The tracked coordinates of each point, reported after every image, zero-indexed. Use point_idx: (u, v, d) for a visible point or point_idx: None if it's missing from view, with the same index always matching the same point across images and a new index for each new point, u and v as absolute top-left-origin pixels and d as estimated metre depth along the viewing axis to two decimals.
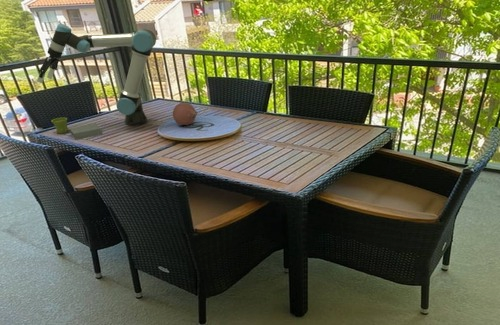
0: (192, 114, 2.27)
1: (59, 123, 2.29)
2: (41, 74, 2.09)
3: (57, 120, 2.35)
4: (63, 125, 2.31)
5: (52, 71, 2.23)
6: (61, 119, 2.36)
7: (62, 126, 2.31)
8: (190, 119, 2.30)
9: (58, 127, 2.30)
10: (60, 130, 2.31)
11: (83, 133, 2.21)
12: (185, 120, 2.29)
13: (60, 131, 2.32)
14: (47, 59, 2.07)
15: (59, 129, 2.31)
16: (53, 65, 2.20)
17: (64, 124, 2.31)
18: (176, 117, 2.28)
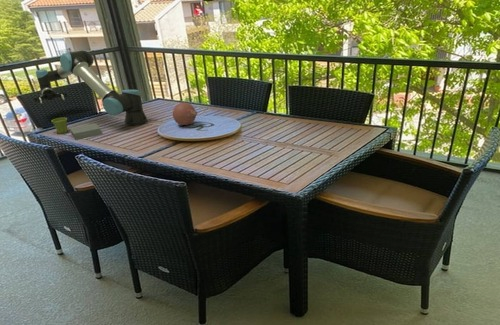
0: (192, 114, 2.27)
1: (59, 123, 2.29)
2: (37, 99, 2.35)
3: (57, 120, 2.35)
4: (63, 125, 2.31)
5: (61, 95, 2.42)
6: (61, 119, 2.36)
7: (62, 126, 2.31)
8: (190, 119, 2.30)
9: (58, 127, 2.30)
10: (60, 130, 2.31)
11: (83, 133, 2.21)
12: (185, 120, 2.29)
13: (60, 131, 2.32)
14: (38, 97, 2.43)
15: (59, 129, 2.31)
16: (58, 95, 2.45)
17: (64, 124, 2.31)
18: (176, 117, 2.28)
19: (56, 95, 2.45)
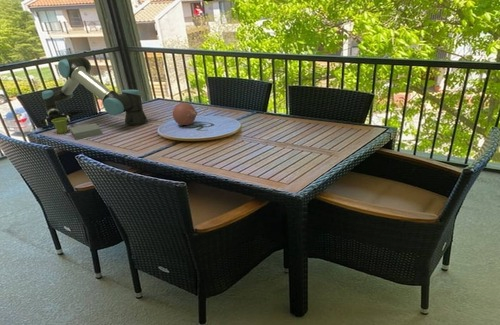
0: (192, 114, 2.27)
1: (59, 123, 2.29)
2: (43, 122, 2.38)
3: (57, 120, 2.35)
4: (63, 125, 2.31)
5: (67, 117, 2.44)
6: (61, 119, 2.36)
7: (62, 126, 2.31)
8: (190, 119, 2.30)
9: (58, 127, 2.30)
10: (60, 130, 2.31)
11: (83, 133, 2.21)
12: (185, 120, 2.29)
13: (60, 131, 2.32)
14: (44, 118, 2.46)
15: (59, 129, 2.31)
16: (63, 116, 2.47)
17: (64, 124, 2.31)
18: (176, 117, 2.28)
19: (62, 116, 2.48)
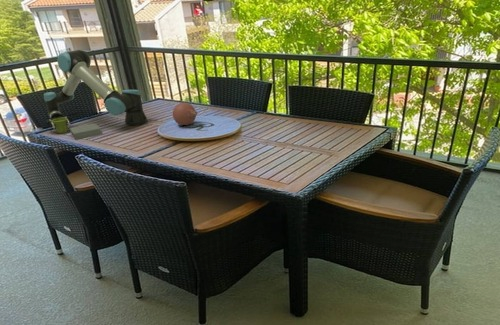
0: (192, 114, 2.27)
1: (59, 123, 2.29)
2: (49, 124, 2.30)
3: (57, 120, 2.35)
4: (63, 125, 2.31)
5: None
6: (61, 119, 2.36)
7: (62, 126, 2.31)
8: (190, 119, 2.30)
9: (58, 127, 2.30)
10: (60, 130, 2.31)
11: (83, 133, 2.21)
12: (185, 120, 2.29)
13: (60, 131, 2.32)
14: (47, 121, 2.38)
15: (59, 129, 2.31)
16: None
17: (64, 124, 2.31)
18: (176, 117, 2.28)
19: None
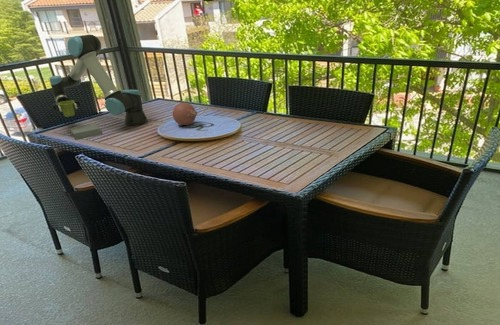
0: (192, 114, 2.27)
1: (66, 105, 2.21)
2: (56, 107, 2.22)
3: (64, 103, 2.27)
4: (70, 108, 2.23)
5: (74, 104, 2.27)
6: (68, 102, 2.28)
7: (69, 109, 2.23)
8: (190, 119, 2.30)
9: (65, 110, 2.22)
10: (67, 113, 2.23)
11: (83, 133, 2.21)
12: (185, 120, 2.29)
13: (67, 114, 2.24)
14: None
15: (66, 112, 2.23)
16: None
17: (71, 107, 2.23)
18: (176, 117, 2.28)
19: None
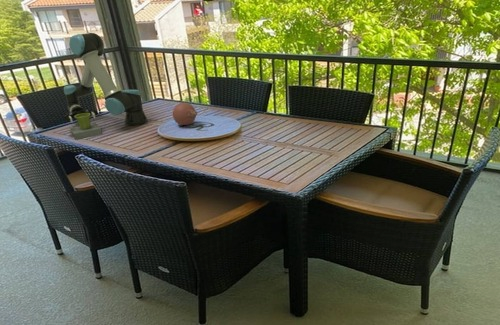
0: (192, 114, 2.27)
1: (83, 118, 2.21)
2: (67, 118, 2.22)
3: (80, 116, 2.27)
4: (86, 121, 2.24)
5: (91, 113, 2.29)
6: (84, 115, 2.28)
7: (85, 122, 2.23)
8: (190, 119, 2.30)
9: (81, 123, 2.23)
10: (83, 126, 2.24)
11: (83, 133, 2.21)
12: (185, 120, 2.29)
13: (83, 127, 2.24)
14: None
15: (82, 125, 2.24)
16: None
17: (87, 120, 2.24)
18: (176, 117, 2.28)
19: None
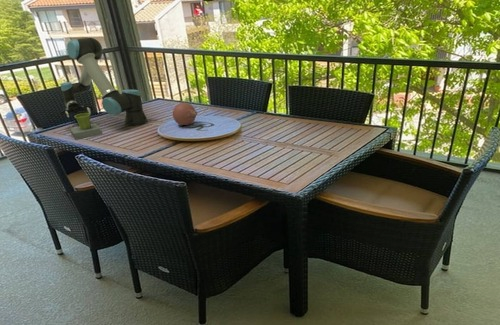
0: (192, 114, 2.27)
1: (83, 118, 2.21)
2: (64, 113, 2.32)
3: (80, 116, 2.27)
4: (86, 121, 2.24)
5: (87, 109, 2.39)
6: (84, 115, 2.28)
7: (85, 122, 2.23)
8: (190, 119, 2.30)
9: (81, 123, 2.23)
10: (83, 126, 2.24)
11: (83, 133, 2.21)
12: (185, 120, 2.29)
13: (83, 127, 2.24)
14: (64, 110, 2.41)
15: (82, 125, 2.24)
16: (83, 108, 2.42)
17: (87, 120, 2.24)
18: (176, 117, 2.28)
19: (82, 108, 2.42)
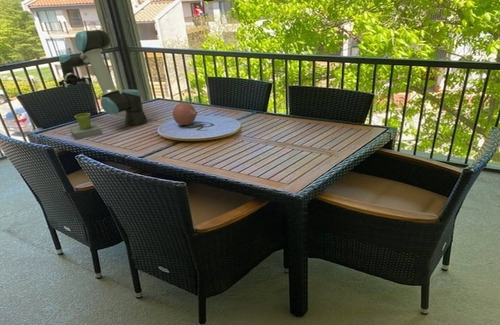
0: (192, 114, 2.27)
1: (83, 118, 2.21)
2: (62, 84, 2.31)
3: (80, 116, 2.27)
4: (86, 121, 2.24)
5: (86, 80, 2.37)
6: (84, 115, 2.28)
7: (85, 122, 2.23)
8: (190, 119, 2.30)
9: (81, 123, 2.23)
10: (83, 126, 2.24)
11: (83, 133, 2.21)
12: (185, 120, 2.29)
13: (83, 127, 2.24)
14: None
15: (82, 125, 2.24)
16: (82, 80, 2.40)
17: (87, 120, 2.24)
18: (176, 117, 2.28)
19: (80, 80, 2.41)
